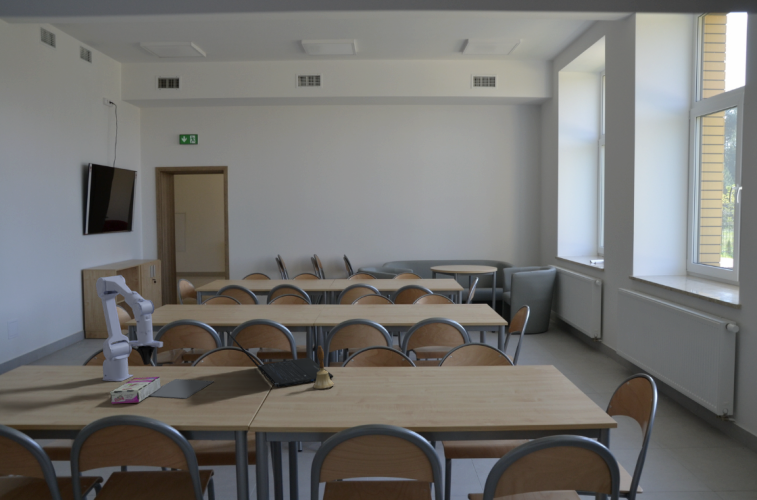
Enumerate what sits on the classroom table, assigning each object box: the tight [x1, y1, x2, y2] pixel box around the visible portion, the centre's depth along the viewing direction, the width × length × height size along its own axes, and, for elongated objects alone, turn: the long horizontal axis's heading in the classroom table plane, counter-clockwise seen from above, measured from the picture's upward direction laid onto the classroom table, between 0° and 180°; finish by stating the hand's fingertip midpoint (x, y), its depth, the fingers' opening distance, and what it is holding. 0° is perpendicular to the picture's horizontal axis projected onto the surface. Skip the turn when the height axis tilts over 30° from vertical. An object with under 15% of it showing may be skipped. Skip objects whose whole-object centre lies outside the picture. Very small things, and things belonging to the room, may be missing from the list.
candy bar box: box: [109, 376, 162, 405], centre depth 207 cm, size 11×5×16 cm
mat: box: [148, 378, 215, 400], centre depth 215 cm, size 18×20×1 cm
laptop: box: [225, 330, 334, 388], centre depth 228 cm, size 33×38×19 cm
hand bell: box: [312, 345, 335, 390], centre depth 212 cm, size 8×8×16 cm
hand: (146, 364), depth 217 cm, fingers closed
